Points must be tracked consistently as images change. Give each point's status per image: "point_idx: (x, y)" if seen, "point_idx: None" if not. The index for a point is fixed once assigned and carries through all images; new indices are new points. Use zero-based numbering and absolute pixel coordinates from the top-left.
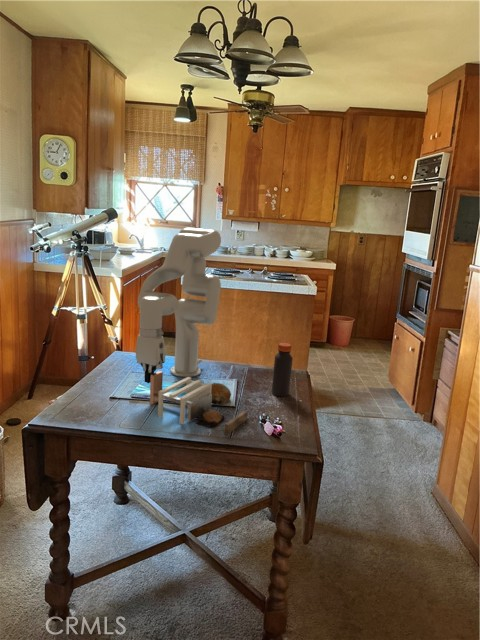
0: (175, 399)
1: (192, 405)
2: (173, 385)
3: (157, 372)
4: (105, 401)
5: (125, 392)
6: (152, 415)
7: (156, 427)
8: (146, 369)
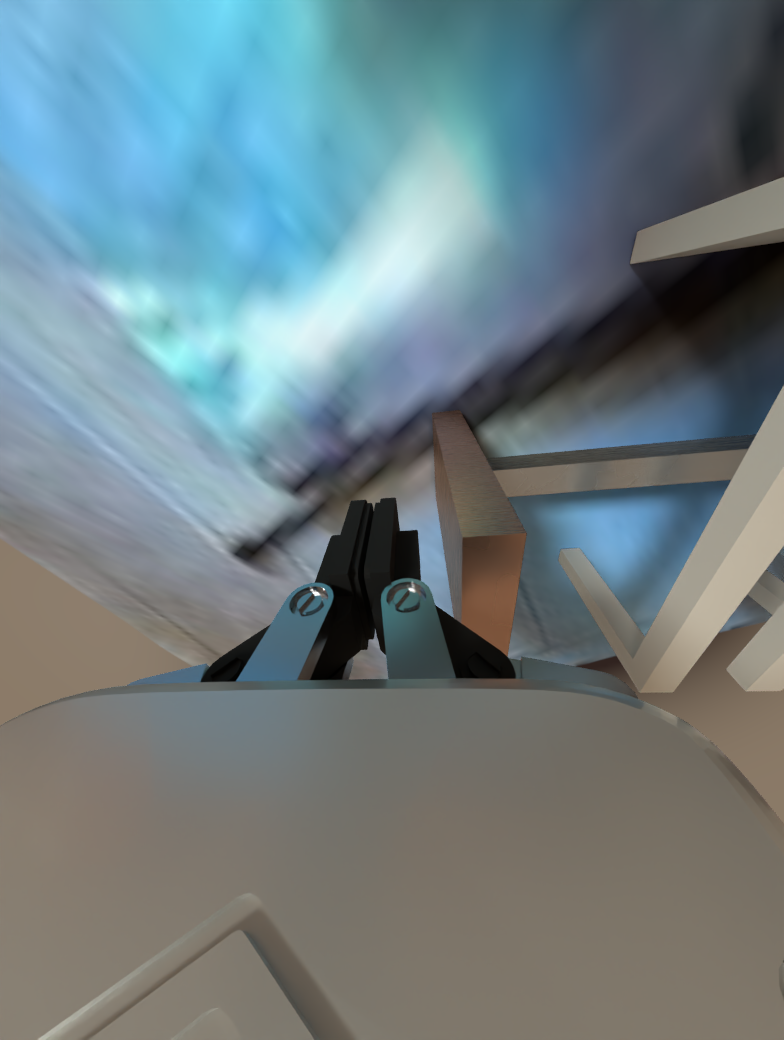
0: (654, 483)
1: None
2: (738, 580)
3: (477, 589)
4: (266, 589)
5: (209, 471)
6: (528, 566)
7: None
8: (350, 660)
